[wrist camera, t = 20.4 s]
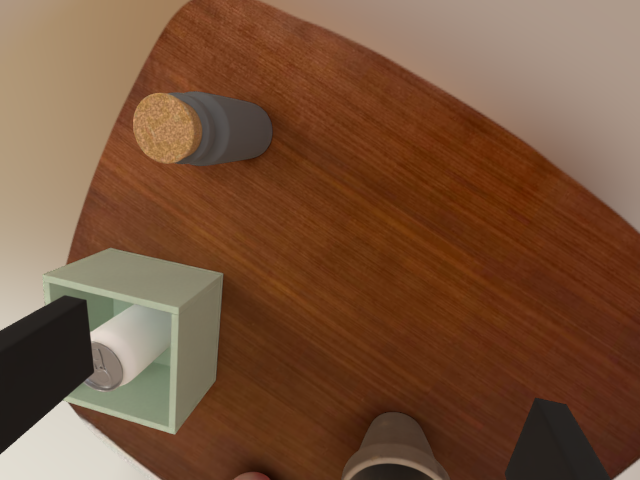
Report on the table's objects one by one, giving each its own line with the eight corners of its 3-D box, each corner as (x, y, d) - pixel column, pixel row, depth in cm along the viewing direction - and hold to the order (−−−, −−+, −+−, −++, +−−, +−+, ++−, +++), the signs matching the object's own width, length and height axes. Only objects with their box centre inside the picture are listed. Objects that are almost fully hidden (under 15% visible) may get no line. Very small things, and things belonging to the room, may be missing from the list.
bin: (110, 247, 48) (41, 274, 39) (223, 273, 45) (178, 307, 36) (112, 352, 52) (52, 397, 43) (215, 380, 50) (174, 434, 41)
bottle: (278, 153, 40) (210, 164, 26) (228, 162, 41) (138, 177, 27) (266, 96, 39) (188, 74, 24) (216, 107, 40) (114, 93, 26)
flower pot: (420, 379, 44) (425, 447, 34) (461, 456, 45) (477, 541, 36) (334, 407, 47) (318, 476, 38) (376, 478, 49) (370, 560, 39)
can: (155, 337, 49) (82, 397, 38) (139, 292, 48) (58, 341, 36) (198, 332, 48) (135, 394, 36) (183, 285, 46) (112, 334, 35)
